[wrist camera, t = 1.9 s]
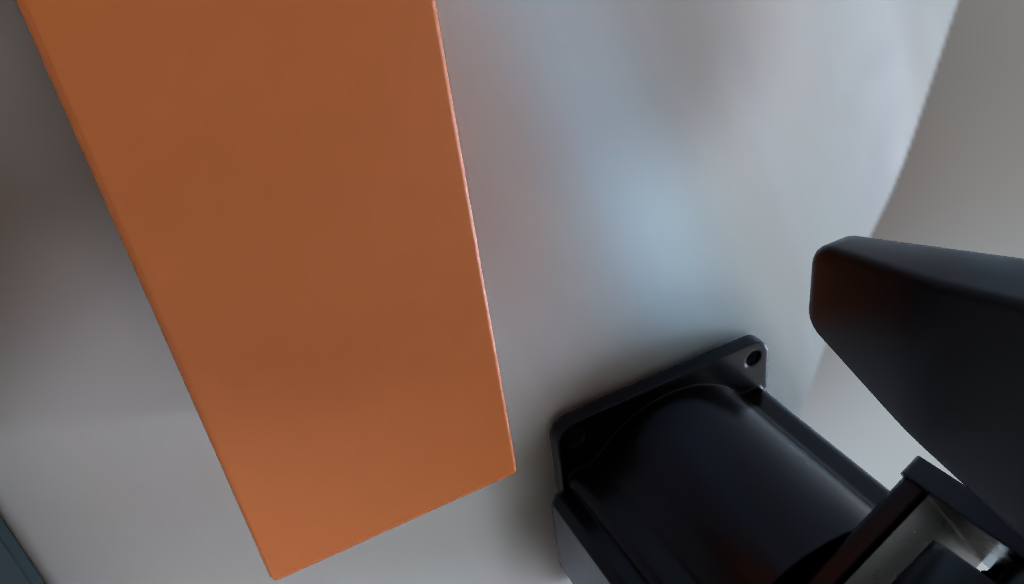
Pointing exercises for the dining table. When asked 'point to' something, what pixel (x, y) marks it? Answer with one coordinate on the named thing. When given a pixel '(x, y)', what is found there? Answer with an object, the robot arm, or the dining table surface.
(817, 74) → the dining table surface
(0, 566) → the dark teal tray
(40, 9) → the eraser
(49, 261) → the dining table surface
